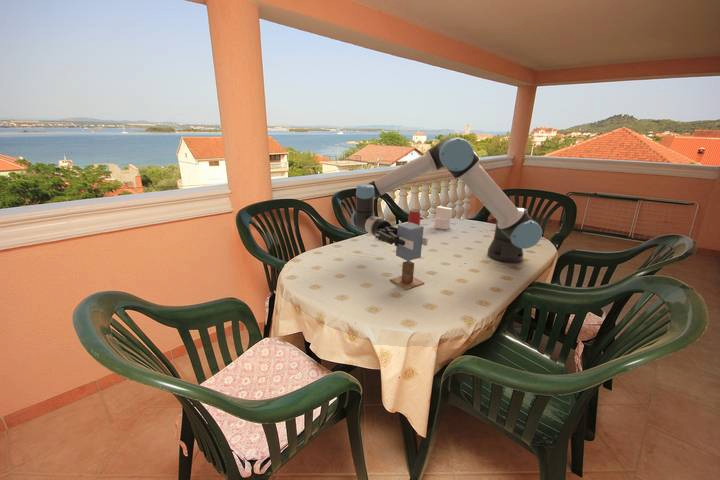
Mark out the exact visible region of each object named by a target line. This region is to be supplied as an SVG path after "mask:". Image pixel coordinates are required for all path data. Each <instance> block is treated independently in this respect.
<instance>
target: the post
mask: <svg viewBox="0 0 720 480" xmlns="http://www.w3.org/2000/svg"><path fill="white" fill-rule="evenodd" d="M414 272H415V262H413V261H412V260H410V261H407V260H405V261H403V262H402V269H401V275H400V276H397V277H394V278H391V279H390V280H389V281H391V282H392V283H394V284H395V285H397V286H399V287H401V288H403V290H407V291H408V290H410V289H412V288H416V287H419V286H421V285H424V284H425V282H424V281H422V280H420V279H418V278H417V277H415V276H414Z"/></svg>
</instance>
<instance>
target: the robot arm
mask: <svg viewBox="0 0 720 480" xmlns="http://www.w3.org/2000/svg"><path fill="white" fill-rule="evenodd" d="M480 160H481V158H480V157H479V155H478V154H477V153H476V152H475V151H474V148H473V146H472V144H471V143H470V142H469V141H468V140H467V139H465V138H462V137H455V136H453V137H447V138H445V139H443V140H441V141H440V142H438V143H437V144H436V145H434V146H432V147H431V148H429V149H427V150H426V152H425V153H423V154H422V155H420V156H418V157H417V158H415V159H413V160H410V161H408V162H407V163H405V164H402V165H401V166H399V167H397V168H395V169H393V170H392V171H391V170H390V172H388V173H386V174H384V175H381V176H380V177H379V178H376V179H374V180H372V181H370V182H369V183H361V184H357V186H356V191H355V211H354V212H352V215H351V217H350V223H351V225H352V226H353V227H355V228H356V229H358V230H360V231H363V232H365V233H368V234H369V235H371V236H373V237H375V238H376V239H378V238H379V239H378V240H380V239H381V240H380V241H382V240H383V242H385V243H387V244H390V245H394V246H395V247H396V246H398V244H399V245H402V246H404V247H406V248H409V249H411V250H412V249H413V243H414V242H413V241H410V240H408V239H405V238H403V237H399V239H398V237H397V232H398V226H394V225H392V224H391V223H390V222H389V220H386V219H384V218H382V217H378V216H375V215H374V207H375V205H374V204H375V199H377V198H380V197H382V196H383V195H385V194H387V193H389V192H391V191H393V190H395V189H397V188H399V187H401V186H403V185H405V184H408V183H410V182H411V181H413V180H415V179H418V178H419V177H421V176H423V175H425V174H427V173H429V172H431V171H433V170H434V171H438V170H441V169H443V168H445V169H446V170H447V171H448V172H449V173H450V175H451V176H452V177H453V178H454V179H455V180H457V179H458V180H461V181H462V182H463V184H465V185H466V187H468V189H469V190H470V191H471V192H472V193H473V195H474V196H475V197H476V198H477V199H478V201H479V202H480V203H481V204H482V205H483V207H485V209H486V210H488V212H489V213H490V214H491V215H492V216H493V218H494V219H496V222H495V223H496V225H495V229H494V235H493V239H492V241H491V243H490V244H489V247H488V249H487V253H486V254H487V257H489V258H491V259H493V260H496V261H500V262H505V263H520V262H521V261H523V259H524V249H530V248H533V247H534V246H536V245H537V244H538V243H539V242H540V241H541V240H542V236H543V229H542V227H541V226H540V224H539V222H537V221H535V220H534V219H533V218H532V217H531V216H530V215H529V213H528V209H526V208H523V207H517V206H516V205H515V204H514V203H513V202H512V200H511V199H510V198H509V197H508V195H507V194H506V193H505V192H504V191H503V190H502V189H501V187H500V186H499V185H498V184H497V183H496V181H494V179H493V178H492V177H491V176H490V175H489V174H488V172H487V171H486V170H485V169H484V168H483V167H482V165H481V164H480V162H481V161H480ZM428 242H429V238H428V237H425V236H423V238H422V246H424V247H427V246H428Z"/></svg>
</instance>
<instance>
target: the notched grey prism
mask: <svg viewBox="0 0 720 480" xmlns="http://www.w3.org/2000/svg"><path fill="white" fill-rule="evenodd" d="M424 227H425V226H423V225H421V224H420V225H417V224H414V223H411V222H410V223H408V222H406V223H400V224H398V225H397V228H398V232H397V237H398V239H399V237H403V238H405V239H408V240H410V241H413V242H414V243H413V249H412V250H411V249H409V248H406V247H404V246H402V245H399V244H398V246H395V247H396V249H395V256H396V257H398V258H401V259H402V260H405V261H413V260H417V259H420V258H421V257H422V247H423V245H422V238H423V237H424V236H423V235H424Z"/></svg>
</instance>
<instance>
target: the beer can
mask: <svg viewBox="0 0 720 480" xmlns="http://www.w3.org/2000/svg"><path fill="white" fill-rule="evenodd" d="M421 218H422V217H421V211H420V210H419V209H410V210H409V213H408V219H407V223H410V222H411V223H414V224H417V225H420V226H421Z"/></svg>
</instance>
